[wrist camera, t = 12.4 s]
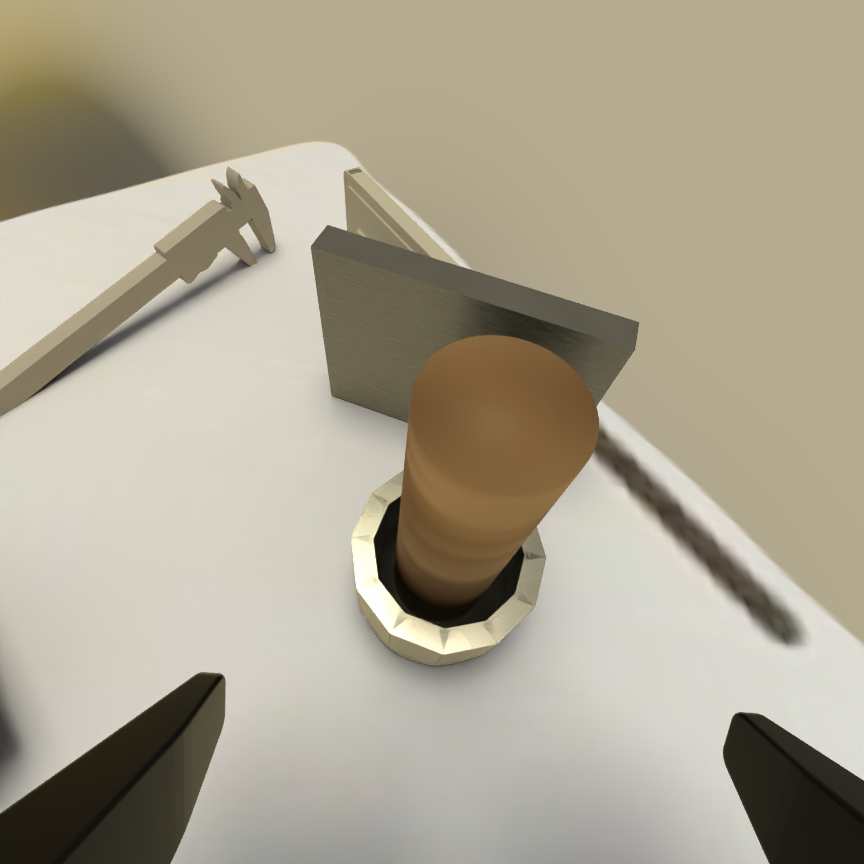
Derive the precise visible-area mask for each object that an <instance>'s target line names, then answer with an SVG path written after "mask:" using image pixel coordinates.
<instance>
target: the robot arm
mask: <svg viewBox="0 0 864 864" xmlns="http://www.w3.org/2000/svg"><path fill="white" fill-rule="evenodd" d="M225 684H226V683H225V677H224V675H222V674H220V673H208V672H201V673H198V674H196V675H195V676H193V677H192V678H190V679H189V680H188V681H186V682H185V683H183V684H182V685H181V686H179V687H178V688H176V689H175V690H174V691H172V692H171V693H169V694H168V695H166V696H165V697H164V698H162V699H161V700H159V701H158V702H157V703H155V704H154V705H152V706H151V707H150V708H148V709H147V710H145V711H144V712H143V713H141V714H140V715H138V716H137V717H136V718H134V719H133V720H131V721H130V722H128V723H127V724H126V725H124V726H123V727H121V728H120V729H119V730H117V731H116V732H114V733H113V734H112V735H110V736H109V737H107V738H106V739H105V740H103V741H102V742H100V743H99V744H97V745H96V746H95V747H93V748H92V749H90V750H89V751H88V752H86V753H85V754H83V755H82V756H81V757H79V758H78V759H76V760H75V761H74V762H72V763H71V764H69V765H68V766H67V767H65V768H64V769H62V770H61V771H59V772H58V773H57V774H55V775H54V776H52V777H51V778H50V779H48V780H47V781H45V782H44V783H43V784H41V785H40V786H38V787H37V788H36V789H34V790H33V791H31V792H30V793H28V794H27V795H26V796H24V797H23V798H21V799H20V800H19V801H17V802H16V803H14V804H13V805H12V806H10V807H9V808H7V809H6V810H5V811H3V812H2V813H0V864H170V863H171V861H172V859H173V857H174V855H175V853H176V851H177V848H178V846H179V844H180V842H181V839H182V837H183V835H184V832H185V830H186V827H187V825H188V822H189V819H190V817H191V814H192V811H193V808H194V806H195V803H196V800H197V797H198V795H199V792H200V789H201V786H202V783H203V781H204V778H205V775H206V772H207V770H208V767H209V764H210V761H211V759H212V756H213V753H214V750H215V747H216V745H217V742H218V739H219V736H220V734H221V731H222V727H223V724H224V718H225ZM723 757H724V762H725V765H726V768H727V770H728V772H729V774H730V777H731V779H732V781H733V783H734V786H735V788H736V790H737V792H738V795H739V797H740V799H741V801H742V804H743V806H744V808H745V810H746V813H747V815H748V817H749V819H750V822H751V824H752V826H753V828H754V831H755V833H756V835H757V837H758V840H759V842H760V844H761V846H762V849H763V851H764V853H765V855H766V857H767V859H768V862H769V864H864V781H863V780H862V779H860V778H859V777H857V776H856V775H854V774H853V773H851V772H849V771H848V770H846V769H845V768H843V767H842V766H840V765H839V764H837V763H836V762H834V761H833V760H831V759H829V758H828V757H826V756H825V755H823V754H822V753H820V752H819V751H817V750H816V749H814V748H812V747H811V746H809V745H808V744H806V743H805V742H803V741H802V740H800V739H799V738H797V737H795V736H794V735H792V734H791V733H789V732H788V731H786V730H785V729H783V728H782V727H780V726H779V725H777V724H775V723H774V722H772V721H771V720H769V719H768V718H766V717H765V716H763V715H760V714H757V713H745V712H739V713H736V714H735V715H734V716H733V718H732V720H731V724H730V727H729V730H728V734H727V737H726V741H725V744H724V748H723Z"/></svg>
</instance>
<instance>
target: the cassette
mask: <svg viewBox="0 0 864 864" xmlns="http://www.w3.org/2000/svg"><path fill="white" fill-rule="evenodd" d="M344 187H345V203H346V219H347V231H348V232H352V233H355V234H358V235H361V236H364V237H368V238H371V239H374V240H377V241H380V242H384V243H387V244H390V245H393V246H396V247H400V248H403V249H406V250H409V251H412V252H416V253H419V254H422V255H425V256H428V257H432V258H435V259H438V260H441V261H444V262H448V263H451V264H454V265H457V266H459V265H458V264H457V263H456V262H455V261H454V260H453V259H452V258H451V257H450V256H449V255H448V254H447V253H446V252H445V251H444V250H443V249H442V248H441V247H440V246H439V245H438V244H437V243H436V242H435V241H434V240H433V239H432V238H431V237H430V236H429V235H428V234H427V233H426V232H425V231H424V230H423V229H422V228H421V227H420V226H419V225H418V224H417V223H416V222H414V221H413V220H412V219H411V218H410V217H409V216H408V215H407V214H406V213H405V212H404V211H403V210H402V209H401V208H400V207H399V206H398V205H397V204H396V203H395V202H394V201H393V200H392V199H391V198H390V197H389V196H388V195H387V194H386V193H385V192H384V191H383V190H382V189H381V188H380V187H379V186H378V185H377V184H376V183H375V182H374V181H373V180H372V179H371V178H370V177H369V176H368V175H367V174H366V173H365V172H364V171H363V170H362V169H361V168H360V167H357V168H353V169H350V170H346V171H344Z"/></svg>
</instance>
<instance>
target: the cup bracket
mask: <svg viewBox="0 0 864 864" xmlns="http://www.w3.org/2000/svg"><path fill="white" fill-rule="evenodd" d="M311 252H312V259H313V266H314V273H315V280H316V288H317V295H318V302H319V309H320V316H321V323H322V330H323V338H324V345H325V352H326V359H327V366H328V373H329V380H330V387H331V395H332V396H334V397H337V398H340V399H343V400H346V401H349V402H351V403H354V404H357V405H360V406H363V407H366V408H369V409H371V410H374V411H377V412H380V413H383V414H386V415H389V416H391V417H394V418H397V419H400V420H403V421H406V422H409V413H410V403H411V393H412V388H413V385H414V381H415V379H416V377H417V374H418V372H419V371H420V369H421V368H422V366H423V365H424V364H425V363H426V361H427V360H428V359H429V358H430V357H431V356H432V355H434V354H435V353H436V352H437V351H439V350H440V349H442V348H443V347H445V346H447V345H449V344H451V343H453V342H455V341H459V340H462V339H465V338H469V337H474V336H483V335H500V336H509V337H514V338H519V339H522V340H526V341H529V342H532V343H534V344H537V345H539V346H541V347H543V348H545V349H547V350H549V351H551V352H552V353H554V354H555V355H557V356H558V357H560V358H561V359H563V360H564V361H565V362H566V363H568V364H569V365H570V366H571V367H572V368H573V369H574V370H575V371H576V372H577V373H578V374H579V376H580V377H581V378H582V380H583V381H584V382H585V384H586V385H587V387H588V389H589V390H590V392H591V394H592V397H593V399H594V401H595V404H596V406H597V405H598V403H599V402H600V400H601V399H602V397H603V396H604V394H605V393H606V391H607V390H608V389H609V387H610V386H611V384H612V382H613V381H614V380H615V378H616V377H617V375H618V374H619V372H620V371H621V369H622V368H623V366H624V365H625V364H626V362H627V361H628V359H629V358H630V356H631V355H632V353H633V352H634V350H635V346H636V340H637V333H638V327H639V322H636V321H633V320H630V319H627V318H624V317H620V316H617V315H614V314H611V313H608V312H604V311H601V310H598V309H595V308H591V307H588V306H585V305H582V304H579V303H576V302H572V301H569V300H566V299H563V298H560V297H556V296H553V295H550V294H547V293H544V292H540V291H537V290H534V289H531V288H528V287H524V286H521V285H518V284H514V283H511V282H508V281H505V280H502V279H498V278H496V277H492V276H489V275H486V274H483V273H480V272H476V271H473V270H470V269H467V268H464V267H460V266H457V265H454V264H451V263H448V262H444V261H441V260H438V259H435V258H432V257H428V256H425V255H422V254H419V253H416V252H412V251H409V250H406V249H403V248H400V247H396V246H393V245H390V244H387V243H384V242H380V241H377V240H374V239H371V238H368V237H364V236H361V235H358V234H355V233H352V232H348V231H345V230H342V229H339V228H336V227H332V226H329V225H327V226H326V228H325V229H324V230H323V232H322V233H321V234H320V235H319V237H318V238H317V239H316V240H315V242H314V243H313V244H312V246H311ZM403 473H404V471H402V472H401V473H399V474H398V475H397V476H395V477H394V478H392V479H391V480H390V481H388V482H387V483H385V484H384V485H382V486H381V487H380V488H378V489H377V490H375V491H374V492H373V493H372V494H371V495H370V497H369V500H368V502H367V504H366V506H365V508H364V510H363V513H362V515H361V517H360V519H359V521H358V523H357V526H356V528H355V530H354V532H353V534H352V536H351V540H352V550H353V559H354V569H355V578H356V588H357V594H358V601H359V607H360V610H361V612H362V613H363V614H364V616H365V618H366V620H367V622H368V624H369V625H370V627H371V629H372V630H373V632H374V633H375V634H376V635H377V637H378V638H379V639H380V640H381V641H382V642H383V643H384V644H385V645H386V646H387V647H389V648H390V649H391V650H393V651H394V652H396V653H397V654H399V655H400V656H402V657H405V658H407V659H409V660H411V661H415V662H418V663H421V664H427V665H432V666H433V665H434V666H435V665H449V664H455V663H459V662H462V661H465V660H467V659H470V658H475V657H480V656H481V655H483V654H484V653H485V652H487V651H488V650H490V649H491V648H493V647H494V646H495V645H497V644H498V643H499V642H500V641H501V640H502V639H503V638H504V637H505V636H506V635H507V634H508V633H509V632H510V631H511V630H512V629H513V628H514V627H515V626H516V625H517V624H518V623H519V622H520V621H521V620H522V619H523V618H524V617H525V616H526V615H527V614H528V613H529V612H530V611H531V610H532V609H533V608H534V607H535V605H536V601H537V596H538V592H539V587H540V583H541V578H542V574H543V569H544V565H545V560H546V556H545V552H544V549H543V546H542V543H541V540H540V536H539V533H538V530H537V527H536V528H535V529H534V530H533V532H532V533H531V534H530V535H529V537H528V538H527V539H526V541H525V542H524V543H523V544H522V546H521V547H520V548H519V549H518V551H517V552H516V553H515V554H514V556H513V557H512V558H511V560H510V561H509V562H508V563H507V565H506V566H505V567H504V568H503V570H502V571H501V572H500V574H499V575H498V576H497V577H496V579H495V580H494V581H493V582H492V584H491V585H490V586H489V587H488V589H487V590H486V591H485V593H484V594H483V595H482V596H481V598H480V599H479V600H478V601H477V603H476V604H475V605H474V607H473V608H472V609H471V610H470V611H469V612H467V613H466V614H465V615H463V616H461V617H459V618H457V619H455V620H451V621H447V622H434V621H429V620H426V619H423V618H421V617H419V616H417V615H415V614H414V613H413V612H411V611H410V610H409V609H408V608H407V607H406V606H405V605H404V604H403V602H402V601H401V599H400V597H399V595H398V593H397V591H396V588H395V584H394V564H395V554H396V544H397V534H398V524H399V513H400V503H401V493H402V483H403Z"/></svg>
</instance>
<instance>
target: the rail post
mask: <svg viewBox="0 0 864 864" xmlns="http://www.w3.org/2000/svg"><path fill="white" fill-rule="evenodd" d="M598 433H599V418H598V412H597V408H596V404H595V401H594V399H593V397H592V394H591V392H590V390H589V389H588V387H587V385H586V384H585V382H584V381H583V380H582V378H581V377H580V376H579V374H578V373H577V372H576V371H575V370H574V369H573V368H572V367H571V366H570V365H569V364H568V363H566V362H565V361H564V360H563V359H561V358H560V357H558V356H557V355H555V354H554V353H552V352H551V351H549V350H547V349H545V348H543V347H541V346H539V345H537V344H534V343H532V342H529V341H526V340H522V339H519V338H514V337H509V336H500V335H483V336H474V337H469V338H465V339H462V340H459V341H455V342H453V343H451V344H449V345H447V346H445V347H443V348H442V349H440V350H439V351H437V352H436V353H435V354H434V355H432V356H431V357H430V358H429V359H428V360H427V361H426V363H425V364H424V365H423V366H422V368H421V369H420V371H419V372H418V374H417V377H416V379H415V381H414V385H413V388H412V393H411V403H410V413H409V423H408V433H407V443H406V453H405V463H404V473H403V483H402V493H401V503H400V513H399V524H398V534H397V544H396V554H395V564H394V584H395V588H396V591H397V593H398V595H399V597H400V599H401V601H402V602H403V604H404V605H405V606H406V607H407V608H408V609H409V610H410V611H411V612H413V613H414V614H415V615H417V616H419V617H421V618H423V619H426V620H429V621H434V622H447V621H451V620H455V619H457V618H459V617H461V616H463V615H465V614H466V613H467V612H469V611H470V610H471V609H472V608H473V607H474V605H475V604H476V603H477V601H478V600H479V599H480V598H481V596H482V595H483V594H484V593H485V591H486V590H487V589H488V587H489V586H490V585H491V584H492V582H493V581H494V580H495V579H496V577H497V576H498V575H499V574H500V572H501V571H502V570H503V568H504V567H505V566H506V565H507V563H508V562H509V561H510V560H511V558H512V557H513V556H514V554H515V553H516V552H517V551H518V549H519V548H520V547H521V546H522V544H523V543H524V542H525V541H526V539H527V538H528V537H529V535H530V534H531V533H532V532H533V530H534V529H535V528H536V527H537V525H538V524H539V523H540V521H541V520H542V519H543V518H544V516H545V515H546V514H547V513H548V511H549V510H550V509H551V507H552V506H553V505H554V504H555V502H556V501H557V500H558V499H559V497H560V496H561V495H562V494H563V492H564V491H565V490H566V488H567V487H568V486H569V485H570V483H571V482H572V481H573V480H574V478H575V477H576V476H577V474H578V473H579V472H580V471H581V469H582V468H583V467H584V466H585V464H586V463H587V462H588V460H589V459H590V457H591V455H592V453H593V452H594V449H595V446H596V443H597V440H598Z"/></svg>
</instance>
